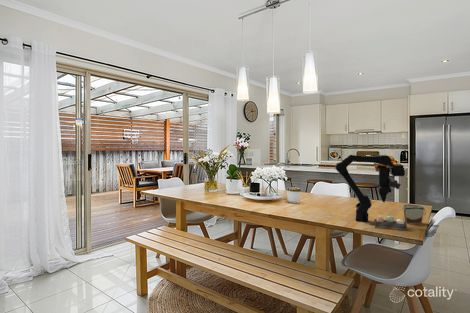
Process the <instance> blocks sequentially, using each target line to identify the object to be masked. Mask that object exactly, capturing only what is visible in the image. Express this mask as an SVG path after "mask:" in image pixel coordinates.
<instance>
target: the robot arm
mask: <svg viewBox="0 0 470 313" xmlns="http://www.w3.org/2000/svg"><path fill="white" fill-rule="evenodd" d="M353 162H360V163H362V162H364V163H374V164H377V165H376V166H375V167H374V168H375V169H378V184H377V185H376V186H377V187H376V188H377V191H378V193H379V196H380V198H381V201H382V203H385V202H386V199H387V195H388V194H389V193H392V188H395V189H397V190H399V189H400V188H401V183H399V182H398V180H396V179H394V180H391V178H390V177H391V176H392V177H405V174H406V171H405V167H404V165H403V164H394V163H393V162H392V159H391V157H390V156H389V155H386V154H385V155H384V154H380V155H374V156H373V155H358V154H357V155H355V154H354V155H353V154H349V155H347V157H346V158H344V159H343V160H341V161H340V162H338V161H337V163H336V164H334V168H335V170H336V172H337V173H339V174H340V176H342V177H343V178H344V180H345V182H347V184H348V186H349V188H350V189H351V190H352V192H353V193H354V195H355V197H356V199H357V202H358V203H356V204H355V208H356V210H355V221H356V222H365V223H368V221H369V212H368V211H369V209H370V208H371V207H372V200H371V199H370V197H369V196H368V195H367V194H366V193H365V194H364V193H363V192H362V191H361V190H360V188H359V186H358V185H357V183H356V182H355V180H354V179H353V178H352V176H351V175H350V173H349V170H348V169H347V167H348V166H350V164H352V163H353ZM390 175H391V176H390ZM391 187H392V188H391Z"/></svg>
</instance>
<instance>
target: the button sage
mask: <svg viewBox="0 0 470 313" xmlns="http://www.w3.org/2000/svg"><path fill="white" fill-rule="evenodd" d="M385 220H386V222H388V223H394V221H395V216H393V215H386V219H385Z"/></svg>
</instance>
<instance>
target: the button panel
mask: <svg viewBox="0 0 470 313" xmlns="http://www.w3.org/2000/svg"><path fill="white" fill-rule="evenodd" d="M374 228H375V229H386V230H394V231H395V230H396V231H404V232H408V223H407V224H406V223H405V221H404V224H397V223H396V220H394V223H388V222H386V219H384V222H377V218H374Z"/></svg>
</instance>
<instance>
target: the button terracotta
mask: <svg viewBox="0 0 470 313" xmlns="http://www.w3.org/2000/svg"><path fill="white" fill-rule="evenodd" d="M376 219H377V222H384V220H385V218H384V217H376Z"/></svg>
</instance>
